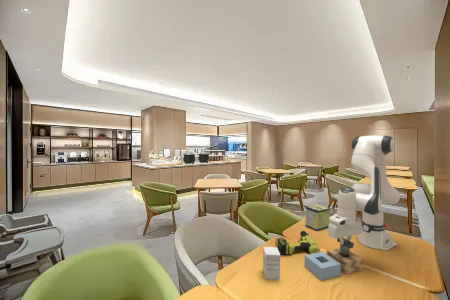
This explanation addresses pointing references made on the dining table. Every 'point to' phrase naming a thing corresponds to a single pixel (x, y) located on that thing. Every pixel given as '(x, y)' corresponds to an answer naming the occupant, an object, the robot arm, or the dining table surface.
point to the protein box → (317, 217)
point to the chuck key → (345, 247)
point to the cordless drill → (297, 245)
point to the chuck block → (322, 265)
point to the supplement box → (271, 263)
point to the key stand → (347, 261)
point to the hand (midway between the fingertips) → (345, 243)
